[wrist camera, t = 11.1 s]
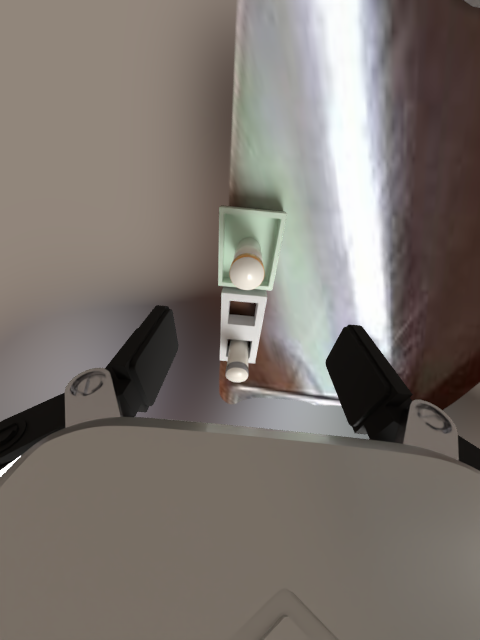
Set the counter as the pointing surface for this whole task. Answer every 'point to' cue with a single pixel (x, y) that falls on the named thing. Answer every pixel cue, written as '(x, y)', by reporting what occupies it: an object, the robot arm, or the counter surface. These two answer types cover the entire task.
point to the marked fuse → (247, 265)
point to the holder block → (241, 320)
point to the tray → (254, 225)
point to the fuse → (237, 361)
